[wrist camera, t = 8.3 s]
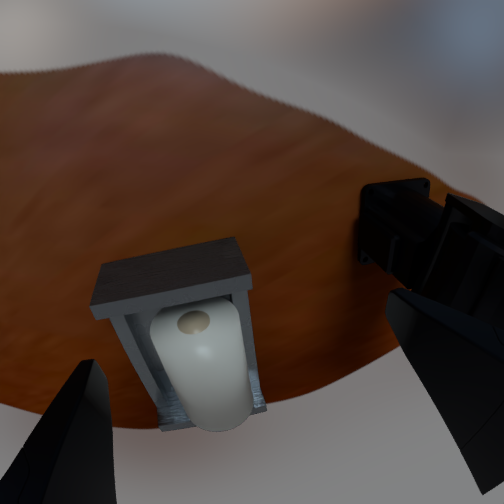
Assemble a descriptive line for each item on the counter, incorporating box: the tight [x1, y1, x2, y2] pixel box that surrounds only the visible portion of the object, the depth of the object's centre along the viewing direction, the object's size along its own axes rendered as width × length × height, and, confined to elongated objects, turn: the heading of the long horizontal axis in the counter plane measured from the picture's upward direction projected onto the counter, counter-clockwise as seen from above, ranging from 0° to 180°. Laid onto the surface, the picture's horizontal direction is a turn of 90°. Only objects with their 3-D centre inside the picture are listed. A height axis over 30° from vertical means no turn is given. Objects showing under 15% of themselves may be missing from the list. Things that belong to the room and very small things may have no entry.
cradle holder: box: [89, 237, 267, 432], centre depth 21 cm, size 9×14×4 cm, turn 6°
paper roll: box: [150, 296, 253, 432], centre depth 21 cm, size 9×6×6 cm, turn 6°
